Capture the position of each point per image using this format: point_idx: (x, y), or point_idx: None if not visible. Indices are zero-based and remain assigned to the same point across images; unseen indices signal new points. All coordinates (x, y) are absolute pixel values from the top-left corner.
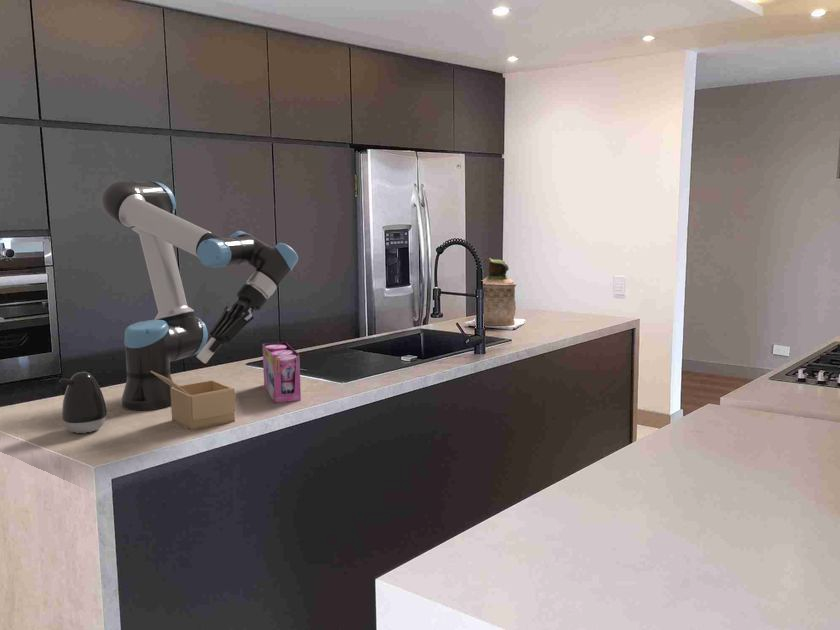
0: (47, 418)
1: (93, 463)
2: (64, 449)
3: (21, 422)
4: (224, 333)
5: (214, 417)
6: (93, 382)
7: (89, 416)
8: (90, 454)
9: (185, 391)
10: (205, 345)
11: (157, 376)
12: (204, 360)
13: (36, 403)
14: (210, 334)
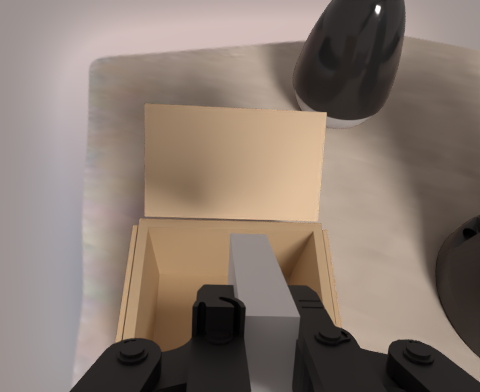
0: (463, 91)
1: (111, 61)
2: (229, 57)
3: (453, 59)
4: (107, 382)
5: None
6: (346, 17)
7: (295, 71)
8: (165, 72)
9: (145, 196)
10: (275, 271)
11: (309, 143)
12: (228, 279)
13: None
14: (401, 344)
